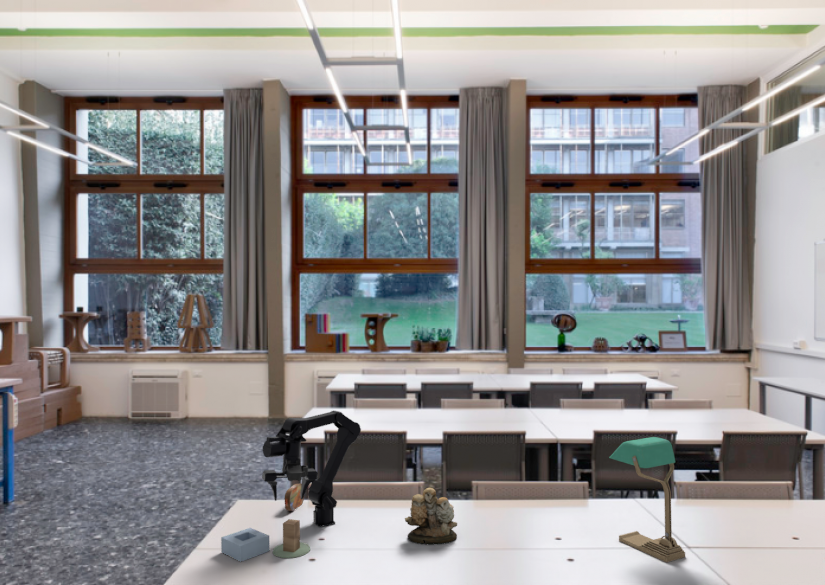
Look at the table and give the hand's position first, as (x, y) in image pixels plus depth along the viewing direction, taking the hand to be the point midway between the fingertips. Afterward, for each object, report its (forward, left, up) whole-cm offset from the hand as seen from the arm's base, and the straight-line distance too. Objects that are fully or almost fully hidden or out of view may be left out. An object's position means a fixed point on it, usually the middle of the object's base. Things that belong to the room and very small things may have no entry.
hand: (288, 499), depth 216 cm
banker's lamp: (-101, +68, -12) cm, 123 cm away
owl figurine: (-42, +27, -12) cm, 52 cm away
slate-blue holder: (+17, +8, -12) cm, 22 cm away
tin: (-9, -26, -12) cm, 30 cm away
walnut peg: (+3, +14, -12) cm, 19 cm away
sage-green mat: (+3, +14, -12) cm, 19 cm away
